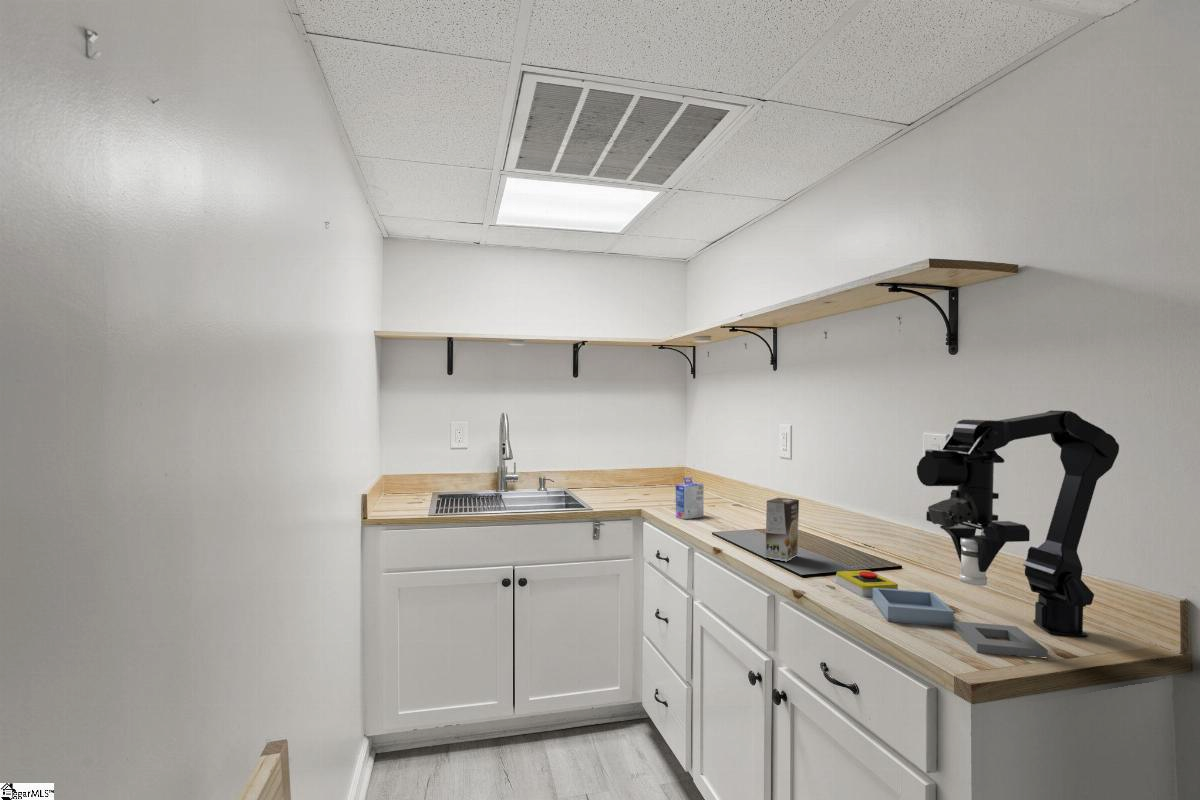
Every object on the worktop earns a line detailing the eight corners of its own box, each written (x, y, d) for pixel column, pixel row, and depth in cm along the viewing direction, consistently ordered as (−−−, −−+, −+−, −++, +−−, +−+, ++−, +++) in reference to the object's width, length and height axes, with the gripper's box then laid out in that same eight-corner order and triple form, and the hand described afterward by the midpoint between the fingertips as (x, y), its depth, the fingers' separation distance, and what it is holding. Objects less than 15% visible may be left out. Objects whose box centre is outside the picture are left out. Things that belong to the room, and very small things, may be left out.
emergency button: (867, 582, 131) (829, 563, 145) (867, 602, 131) (828, 581, 145) (905, 581, 132) (863, 562, 147) (904, 600, 132) (863, 580, 147)
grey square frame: (1016, 634, 113) (1016, 626, 113) (1047, 658, 102) (1047, 650, 102) (952, 628, 115) (953, 620, 115) (976, 652, 104) (977, 643, 104)
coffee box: (787, 563, 159) (789, 503, 159) (764, 559, 163) (765, 500, 163) (798, 556, 167) (799, 499, 167) (775, 552, 171) (776, 496, 171)
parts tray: (932, 606, 128) (932, 592, 128) (953, 626, 116) (954, 611, 116) (872, 601, 130) (872, 587, 130) (887, 621, 118) (887, 606, 118)
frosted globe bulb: (980, 579, 114) (981, 537, 114) (991, 586, 110) (992, 543, 110) (955, 577, 115) (956, 536, 115) (965, 584, 110) (966, 541, 110)
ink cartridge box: (694, 514, 225) (694, 476, 225) (704, 517, 220) (705, 478, 220) (674, 517, 219) (675, 478, 219) (684, 519, 215) (685, 479, 214)
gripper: (903, 479, 120) (901, 556, 120) (977, 494, 102) (975, 585, 102) (951, 479, 122) (950, 555, 122) (1033, 494, 103) (1031, 583, 104)
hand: (973, 568), depth 112 cm, fingers closed on frosted globe bulb, 4 cm apart
